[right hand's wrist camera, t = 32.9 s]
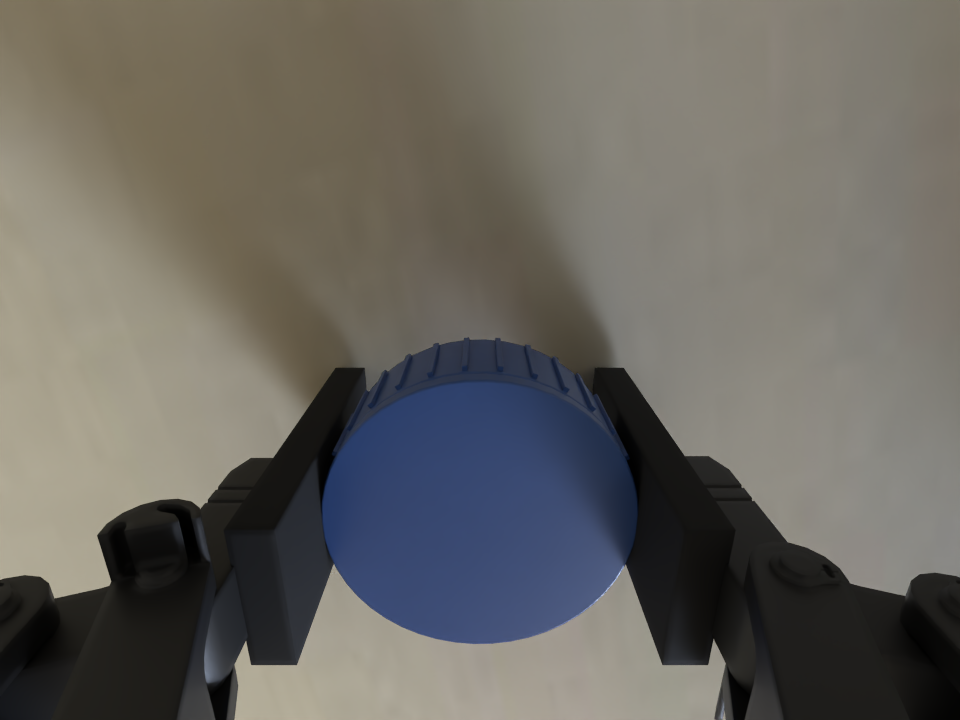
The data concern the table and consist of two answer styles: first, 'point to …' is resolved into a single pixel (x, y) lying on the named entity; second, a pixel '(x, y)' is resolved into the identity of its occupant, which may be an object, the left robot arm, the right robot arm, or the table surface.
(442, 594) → the lid
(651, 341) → the table surface
